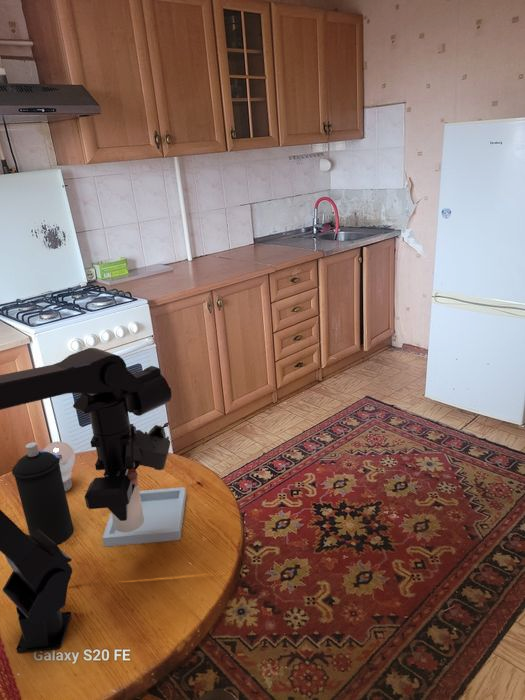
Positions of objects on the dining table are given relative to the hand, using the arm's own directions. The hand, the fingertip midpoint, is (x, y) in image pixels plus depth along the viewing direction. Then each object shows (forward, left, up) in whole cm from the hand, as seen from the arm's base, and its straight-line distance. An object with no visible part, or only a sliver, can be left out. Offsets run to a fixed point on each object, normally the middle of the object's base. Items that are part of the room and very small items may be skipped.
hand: (126, 509), depth 89 cm
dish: (+13, 0, -12) cm, 18 cm away
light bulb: (+26, +20, -13) cm, 35 cm away
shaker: (0, 0, -2) cm, 2 cm away
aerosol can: (+11, +18, -12) cm, 24 cm away
